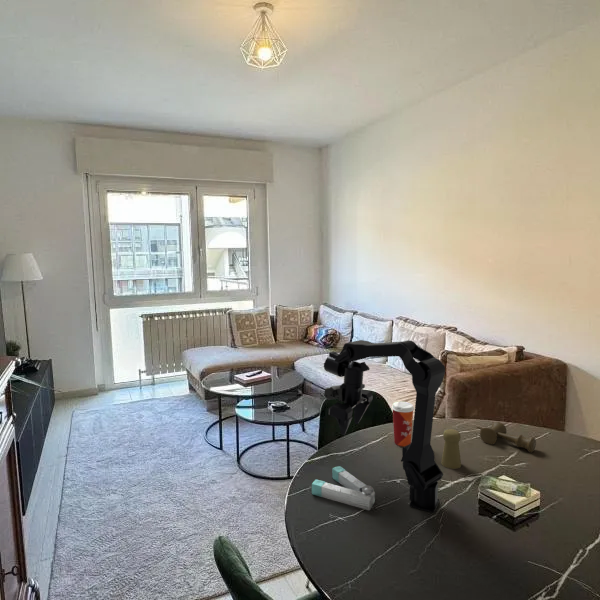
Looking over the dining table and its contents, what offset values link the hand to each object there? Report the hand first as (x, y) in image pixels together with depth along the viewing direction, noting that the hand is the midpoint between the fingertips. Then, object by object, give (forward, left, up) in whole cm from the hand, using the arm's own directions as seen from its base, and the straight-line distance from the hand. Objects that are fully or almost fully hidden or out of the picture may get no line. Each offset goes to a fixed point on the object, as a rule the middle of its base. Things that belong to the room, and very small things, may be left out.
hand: (349, 429), depth 138 cm
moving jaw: (-4, +10, -13) cm, 17 cm away
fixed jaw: (-5, +16, -13) cm, 21 cm away
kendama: (-41, -41, -13) cm, 59 cm away
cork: (-27, -17, -13) cm, 35 cm away
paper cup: (-9, -25, -13) cm, 30 cm away
